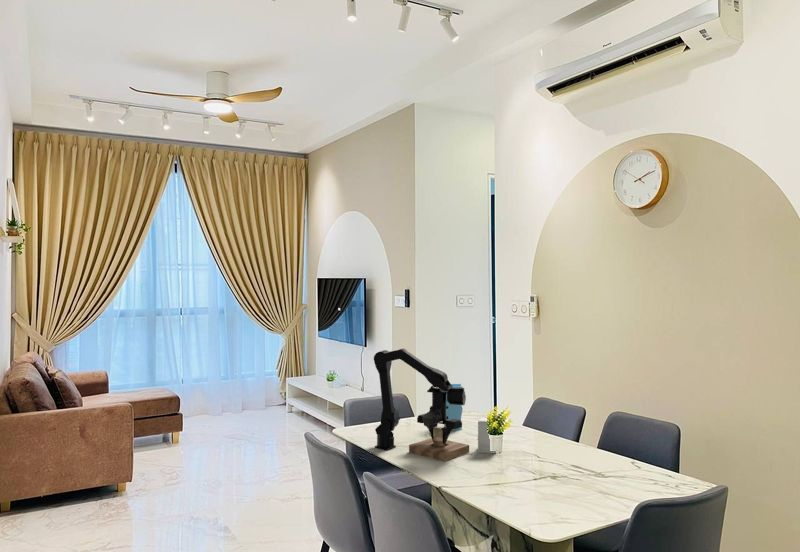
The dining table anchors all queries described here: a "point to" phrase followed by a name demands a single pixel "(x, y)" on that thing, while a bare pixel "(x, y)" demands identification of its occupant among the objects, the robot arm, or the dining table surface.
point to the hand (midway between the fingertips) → (439, 442)
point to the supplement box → (483, 437)
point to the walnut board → (439, 449)
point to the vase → (454, 408)
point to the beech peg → (438, 437)
